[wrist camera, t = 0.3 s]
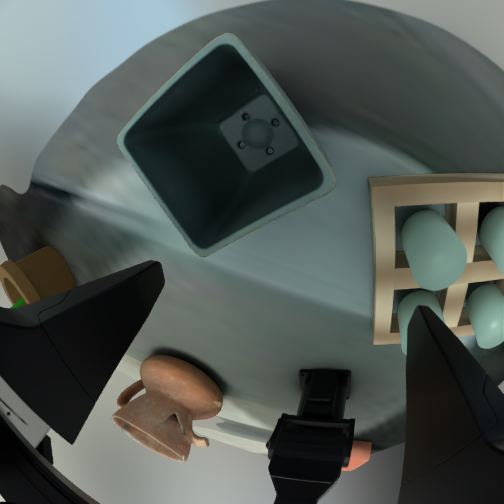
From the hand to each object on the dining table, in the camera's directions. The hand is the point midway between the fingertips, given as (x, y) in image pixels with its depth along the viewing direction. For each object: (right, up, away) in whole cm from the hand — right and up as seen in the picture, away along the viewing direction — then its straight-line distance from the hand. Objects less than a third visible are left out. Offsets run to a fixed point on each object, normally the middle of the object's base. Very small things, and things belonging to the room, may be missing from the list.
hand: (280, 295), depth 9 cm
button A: (+13, -4, +11) cm, 18 cm away
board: (+16, +1, +10) cm, 19 cm away
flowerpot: (-36, -2, +31) cm, 47 cm away
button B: (+20, -3, +9) cm, 22 cm away
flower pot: (0, +10, +11) cm, 15 cm away
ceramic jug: (-12, -19, +33) cm, 40 cm away
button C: (+12, +3, +8) cm, 15 cm away
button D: (+18, +3, +6) cm, 19 cm away
